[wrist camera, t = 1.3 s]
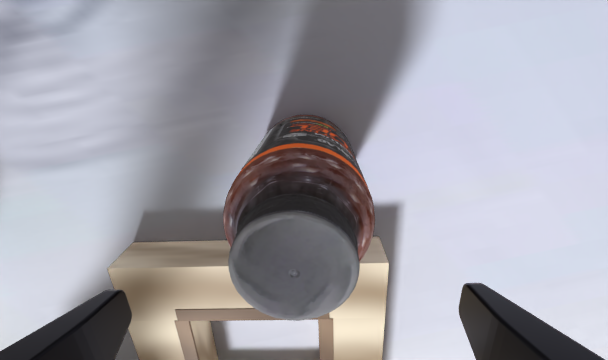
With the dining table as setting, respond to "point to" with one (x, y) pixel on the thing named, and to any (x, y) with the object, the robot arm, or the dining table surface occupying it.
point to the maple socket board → (232, 302)
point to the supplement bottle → (298, 221)
